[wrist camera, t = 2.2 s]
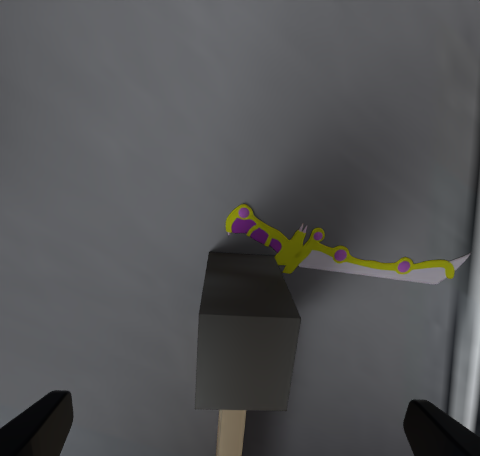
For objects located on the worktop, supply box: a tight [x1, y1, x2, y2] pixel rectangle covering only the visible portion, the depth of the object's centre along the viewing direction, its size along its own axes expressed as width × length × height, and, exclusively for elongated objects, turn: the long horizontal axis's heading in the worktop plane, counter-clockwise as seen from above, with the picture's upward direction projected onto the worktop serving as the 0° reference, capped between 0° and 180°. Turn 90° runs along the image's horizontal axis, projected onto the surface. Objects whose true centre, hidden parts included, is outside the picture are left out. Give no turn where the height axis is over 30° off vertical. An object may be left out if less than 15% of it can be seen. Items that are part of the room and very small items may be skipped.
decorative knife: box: [226, 204, 470, 285], centre depth 13 cm, size 12×1×5 cm
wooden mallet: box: [195, 252, 301, 456], centre depth 13 cm, size 3×17×5 cm, turn 175°
